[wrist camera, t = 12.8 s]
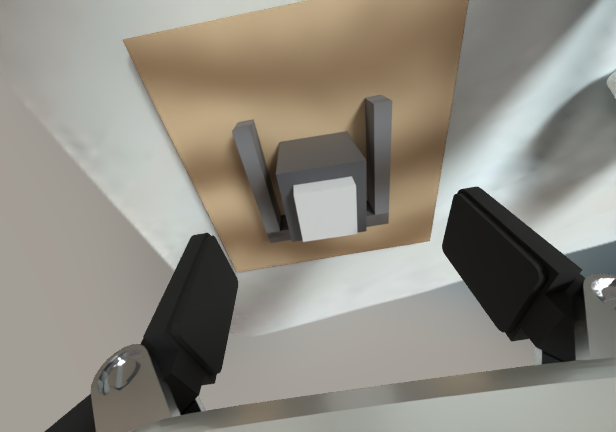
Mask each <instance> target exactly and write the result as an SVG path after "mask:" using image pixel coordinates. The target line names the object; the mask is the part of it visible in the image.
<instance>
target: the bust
mask: <svg viewBox="0 0 616 432" xmlns="http://www.w3.org/2000/svg"><path fill="white" fill-rule="evenodd" d="M607 86H608V87H609V89H610V90H611V92H612V94H613V95H614V97H615V99H616V71H615V72H613V73H612V74H611V75H610V76H609V78H608V79H607Z"/></svg>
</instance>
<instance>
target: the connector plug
mask: <svg viewBox="0 0 616 432" xmlns="http://www.w3.org/2000/svg"><path fill="white" fill-rule="evenodd" d="M276 177H277V181H278V185H279V189H280V194H281V198H282V202H283V206H284V211H285V215H286V219H287V223H288V228H289V232H290V236H291V240H292V242H296V241H303V242H306V241H313V240H320V239H327V238H334V237H340V236H347V235H354V234H357V233H358V232H365V231H367V223H366V159H365V157H364V156H363V154H362V153H361V151H360V150H359V148H358V147H357V145H356V144H355V142H354V141H353V139H352V138H351V136H350V135H349V133H348V132H347V131H345V132H338V133H332V134H326V135H319V136H313V137H307V138H301V139H294V140H288V141H282V142H280V143H279V152H278V160H277V169H276Z"/></svg>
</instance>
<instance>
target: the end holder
mask: <svg viewBox="0 0 616 432" xmlns="http://www.w3.org/2000/svg"><path fill="white" fill-rule="evenodd" d="M468 2H469V0H306V1H302V2H297V3H292V4H288V5H283V6H278V7H274V8H269V9H264V10H259V11H255V12H250V13H245V14H241V15H236V16H231V17H227V18H222V19H217V20H213V21H208V22H203V23H199V24H194V25H189V26H185V27H180V28H175V29H171V30H166V31H161V32H157V33H152V34H147V35H143V36H138V37H133V38H129V39H124V40H123V42H124V44H125V46H126V48H127V50H128V52H129V54H130V56H131V58H132V60H133V62H134V65H135V67H136V69H137V71H138V73H139V75H140V77H141V79H142V81H143V83H144V85H145V87H146V89H147V91H148V93H149V95H150V97H151V99H152V101H153V103H154V105H155V107H156V109H157V111H158V113H159V115H160V117H161V119H162V121H163V123H164V125H165V127H166V129H167V131H168V133H169V135H170V137H171V139H172V141H173V144H174V146H175V148H176V150H177V152H178V154H179V156H180V158H181V160H182V162H183V164H184V166H185V168H186V170H187V172H188V174H189V176H190V178H191V180H192V182H193V184H194V186H195V188H196V190H197V192H198V194H199V196H200V198H201V200H202V202H203V204H204V206H205V208H206V210H207V212H208V214H209V216H210V218H211V220H212V223H213V225H214V227H215V229H216V231H217V233H218V235H219V237H220V239H221V241H222V243H223V245H224V247H225V249H226V251H227V253H228V255H229V257H230V259H231V261H232V263H233V265H234V267H235V269H236V271H237V272H242V271H249V270H255V269H261V268H267V267H273V266H279V265H286V264H292V263H298V262H304V261H310V260H316V259H323V258H329V257H335V256H341V255H347V254H353V253H359V252H366V251H372V250H378V249H384V248H390V247H396V246H403V245H409V244H415V243H421V242H427V241H430V237H431V231H432V224H433V218H434V212H435V206H436V200H437V194H438V187H439V181H440V175H441V169H442V163H443V156H444V150H445V144H446V138H447V132H448V126H449V119H450V113H451V107H452V101H453V95H454V88H455V82H456V76H457V70H458V64H459V58H460V51H461V45H462V39H463V33H464V27H465V20H466V14H467V8H468ZM345 131H347V132H348V133H349V135H350V136H351V138H352V139H353V141H354V142H355V144H356V145H357V147H358V148H359V150H360V151H361V153H362V154H363V156H364V157H365V159H366V223H367V231H365V232H358V233H357V234H354V235H347V236H340V237H334V238H327V239H320V240H313V241H306V242H303V241H296V242H292V240H291V236H290V232H289V228H288V223H287V219H286V215H285V211H284V206H283V202H282V198H281V194H280V189H279V185H278V181H277V177H276V169H277V160H278V152H279V143H280V142H282V141H288V140H294V139H301V138H307V137H313V136H319V135H326V134H332V133H338V132H345Z"/></svg>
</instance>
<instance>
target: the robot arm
mask: <svg viewBox="0 0 616 432" xmlns="http://www.w3.org/2000/svg"><path fill="white" fill-rule="evenodd" d="M442 249H443V252H444V254H445V255H446V257H447V258H448V259H449V261H450V262H451V264H452V265H453V266H454V268H455V269H456V271H457V272H458V274H459V275H460V276H461V278H462V279H463V281H464V282H465V283H466V285H467V286H468V288H469V289H470V290H471V292H472V293H473V295H474V296H475V297H476V299H477V300H478V302H479V303H480V304H481V306H482V307H483V309H484V310H485V312H486V313H487V314H488V315H489V317H490V319H491V320H492V321H493V323H494V324H495V326H496V327H497V328H498V329H499V330H500V331H501V332H505V333H506V334H507V336H508V337H509V339H510V340H511V341H517V340H524V339H530V340H531V341H532V342H533V344H534V345H535V360H534V365H533V366H524V367H516V368H509V369H501V370H493V371H486V372H478V373H471V374H464V375H456V376H448V377H440V378H433V379H426V380H418V381H411V382H404V383H397V384H389V385H381V386H375V387H367V388H360V389H352V390H345V391H338V392H330V393H323V394H316V395H310V396H302V397H296V398H289V399H281V400H274V401H267V402H260V403H253V404H246V405H239V406H233V407H227V408H221V409H214V410H208V411H206V410H205V408H204V406H203V404H202V402H201V400H200V397H199V393H200V389H201V385H207V384H214V383H215V380H216V375H217V373H220V371H221V369H222V365H223V359H224V354H225V350H226V345H227V340H228V334H229V330H230V325H231V320H232V315H233V310H234V305H235V300H236V294H237V289H238V280H237V277H236V275H235V273H234V271H233V270H232V268H231V266H230V264H229V262H228V260H227V258H226V256H225V255H224V253H223V251H222V249H221V247H220V245H219V243H218V241H217V240H216V238H215V237H214V236H211V235H210V234H209V233H204V234H198V235H193V236H192V237H191V238H190V240H189V242H188V245H187V247H186V249H185V251H184V253H183V255H182V257H181V259H180V261H179V263H178V265H177V268H176V270H175V272H174V274H173V276H172V278H171V280H170V282H169V284H168V286H167V288H166V291H165V293H164V295H163V297H162V299H161V301H160V303H159V305H158V307H157V309H156V312H155V314H154V316H153V318H152V320H151V322H150V324H149V326H148V328H147V330H146V332H145V334H144V336H143V337H144V338H143V340H142V342H141V344H133V345H130V346H127V347H124V348H122V349H121V350H119V351H117V352H116V353H114V354H113V355H112V356H111V357H110V358H109V359H107V361H106V362H105V363H104V364H103V365H102V366H101V368H100V369H99V370H98V372H97V374H96V375H95V377H94V380H93V382H92V385H91V394H90V395H89V396H87V397H86V398H85V399H84V400H82V401H81V402H80V403H79V404H78V405H76V406H75V407H74V408H73V409H72V410H70V411H69V412H68V413H67V414H65V415H64V416H63V417H62V418H61V419H59V420H58V421H57V422H56V423H55V424H53V425H52V426H51V427H50V428H49V429H47V430H46V431H45V432H616V276H615V275H610V274H594V275H590V276H588V277H587V278H584V277H583V276H582V275H581V274H579V273H580V272H581V271H582V269H581V268H580V267H578V266H577V265H576V264H575V263H573V262H572V261H571V260H570V259H568V258H567V257H566V256H565V255H563V254H562V253H561V252H560V251H558V250H557V249H556V248H555V247H553V246H552V245H551V244H550V243H548V242H547V241H546V240H545V239H543V238H542V237H541V236H540V235H538V234H537V233H536V232H535V231H533V230H532V229H531V228H530V227H528V226H527V225H526V224H525V223H523V222H522V221H521V220H520V219H518V218H517V217H516V216H515V215H513V214H512V213H511V212H510V211H509V210H507V209H506V208H505V207H504V206H502V205H501V204H500V203H499V202H497V201H496V200H495V199H494V198H492V197H491V196H490V195H489V194H487V193H486V192H485V191H484V190H482V189H481V188H479V187H471V188H465V189H461V190H459V191H458V193H457V194H455V195H454V197H453V201H452V205H451V209H450V214H449V218H448V222H447V226H446V231H445V235H444V239H443V244H442Z"/></svg>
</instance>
